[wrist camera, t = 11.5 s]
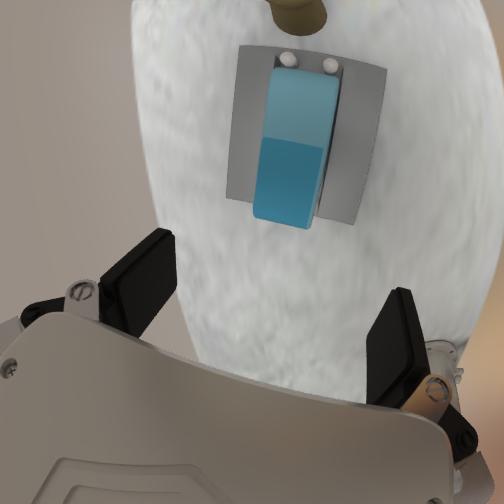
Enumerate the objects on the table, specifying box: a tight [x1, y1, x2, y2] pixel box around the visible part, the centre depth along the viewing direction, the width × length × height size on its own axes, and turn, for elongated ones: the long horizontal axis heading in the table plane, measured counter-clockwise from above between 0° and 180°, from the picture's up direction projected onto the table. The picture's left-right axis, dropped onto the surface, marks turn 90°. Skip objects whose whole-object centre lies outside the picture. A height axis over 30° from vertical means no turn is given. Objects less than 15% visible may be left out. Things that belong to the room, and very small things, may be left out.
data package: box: [253, 67, 339, 229], centre depth 22 cm, size 12×4×12 cm, turn 173°
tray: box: [226, 46, 387, 225], centre depth 26 cm, size 16×19×5 cm
